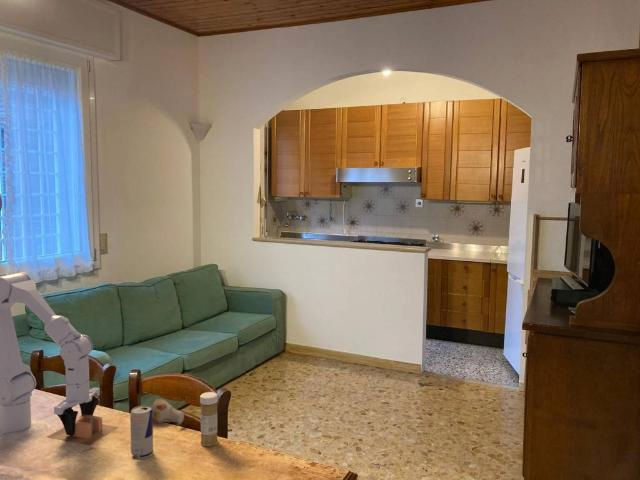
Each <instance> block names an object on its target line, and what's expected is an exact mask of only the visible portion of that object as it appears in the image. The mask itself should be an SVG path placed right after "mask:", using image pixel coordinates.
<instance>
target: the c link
mask: <svg viewBox="0 0 640 480" xmlns="http://www.w3.org/2000/svg"><path fill="white" fill-rule="evenodd" d="M89 418H93V431H97V432H100V431H101V430H102V424H103V417H102V416H97V415H93V416H92V415H86V414H84V415H80V416H77V417H76V422H75V433H74V435H72V436H77V437H82V438H87V439H88V438H90V437H91V436H92V433H91V423H88V419H89Z"/></svg>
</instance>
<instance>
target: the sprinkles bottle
mask: <svg viewBox="0 0 640 480" xmlns="http://www.w3.org/2000/svg"><path fill="white" fill-rule="evenodd" d="M199 397H200V398H199V403H200V445H201V446H204V447H213V446H215V445H217V443H218V440H219V439H218V402H219V401H218V400H219V399H218V398H219V396H218V394H217V393H216V392H214V391H213V392H212V391H208V392H203V393H202V394H201V395H200V396H199Z"/></svg>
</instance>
